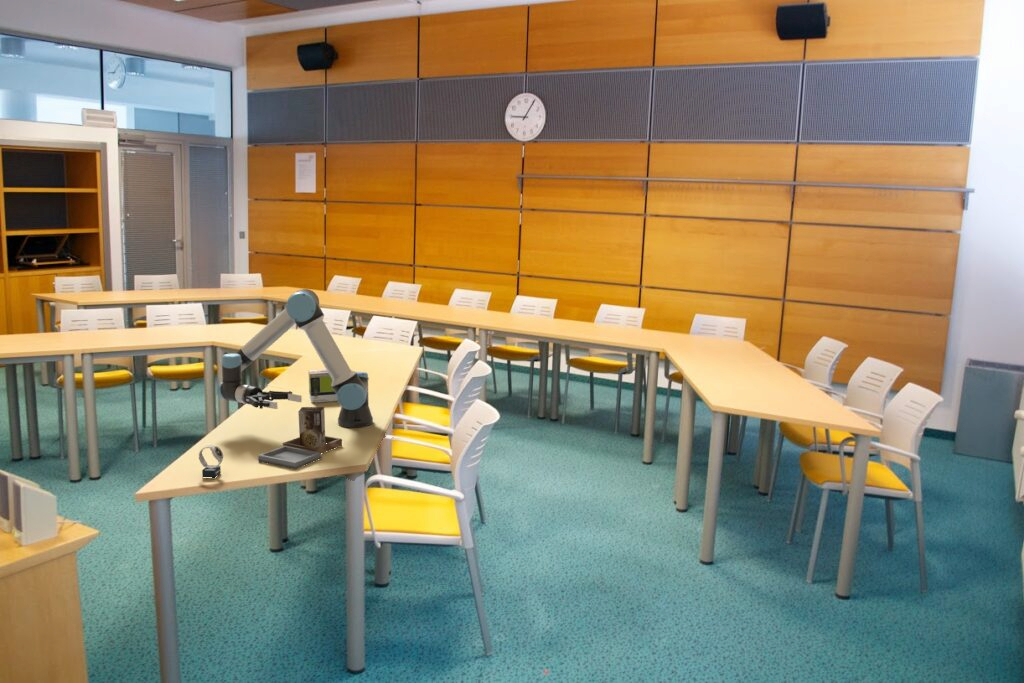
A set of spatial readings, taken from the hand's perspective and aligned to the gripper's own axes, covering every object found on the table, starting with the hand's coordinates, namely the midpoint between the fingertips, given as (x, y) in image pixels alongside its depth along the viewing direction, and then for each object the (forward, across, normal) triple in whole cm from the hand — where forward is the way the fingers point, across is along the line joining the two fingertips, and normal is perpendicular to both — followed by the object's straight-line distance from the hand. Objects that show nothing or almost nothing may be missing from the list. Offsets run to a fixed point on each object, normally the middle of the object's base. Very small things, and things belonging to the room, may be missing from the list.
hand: (289, 402), depth 314 cm
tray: (+14, +15, -17) cm, 27 cm away
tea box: (-38, -66, -18) cm, 78 cm away
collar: (+11, -1, -17) cm, 21 cm away
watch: (+3, +42, -18) cm, 46 cm away
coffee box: (+11, -1, -17) cm, 21 cm away
